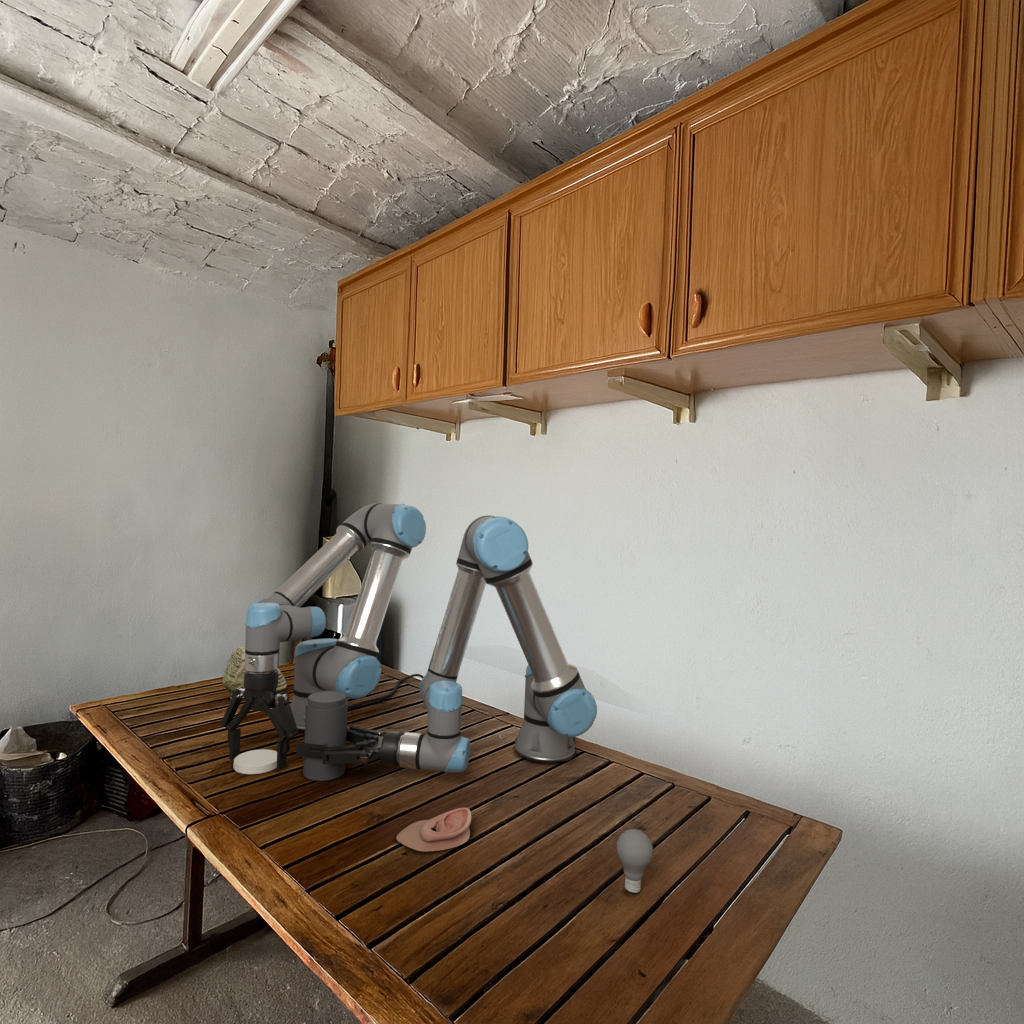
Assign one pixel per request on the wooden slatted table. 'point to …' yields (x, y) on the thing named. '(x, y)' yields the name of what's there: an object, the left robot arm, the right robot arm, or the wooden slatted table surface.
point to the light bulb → (634, 857)
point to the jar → (325, 731)
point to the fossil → (236, 673)
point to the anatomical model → (438, 831)
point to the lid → (255, 761)
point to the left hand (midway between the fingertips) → (257, 761)
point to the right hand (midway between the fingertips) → (306, 740)
